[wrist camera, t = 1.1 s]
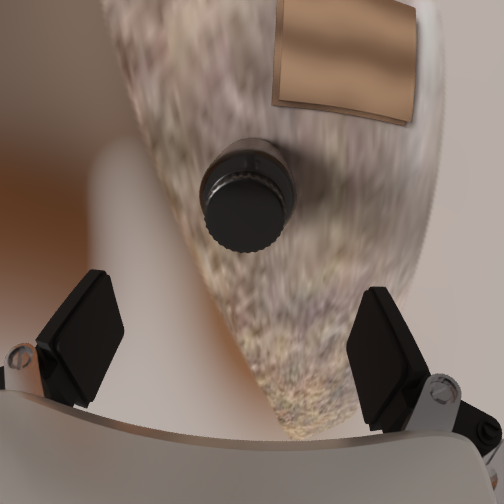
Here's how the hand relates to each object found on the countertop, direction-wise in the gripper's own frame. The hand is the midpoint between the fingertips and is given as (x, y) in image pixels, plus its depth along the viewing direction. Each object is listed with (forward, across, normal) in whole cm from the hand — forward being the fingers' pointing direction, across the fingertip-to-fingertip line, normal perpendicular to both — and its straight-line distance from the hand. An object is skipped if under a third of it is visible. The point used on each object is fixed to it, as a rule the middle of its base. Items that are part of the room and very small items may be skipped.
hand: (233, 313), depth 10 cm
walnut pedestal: (+19, -8, -14) cm, 25 cm away
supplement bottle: (+20, 0, -1) cm, 20 cm away
